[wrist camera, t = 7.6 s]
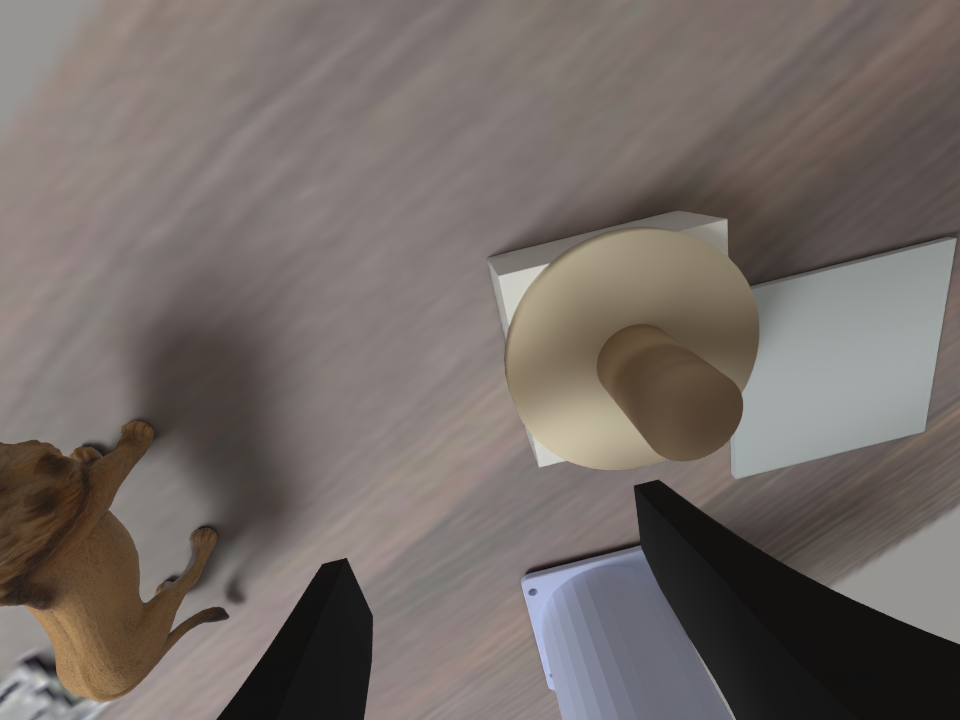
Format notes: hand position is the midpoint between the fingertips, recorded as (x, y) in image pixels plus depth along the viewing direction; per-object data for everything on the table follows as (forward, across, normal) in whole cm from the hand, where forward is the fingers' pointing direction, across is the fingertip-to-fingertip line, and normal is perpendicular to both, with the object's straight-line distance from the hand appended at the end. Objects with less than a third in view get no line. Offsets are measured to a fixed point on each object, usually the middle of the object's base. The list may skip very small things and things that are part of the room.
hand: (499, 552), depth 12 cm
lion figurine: (+11, +16, +2) cm, 19 cm away
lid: (+7, -6, -1) cm, 9 cm away
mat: (+10, -17, +4) cm, 20 cm away
